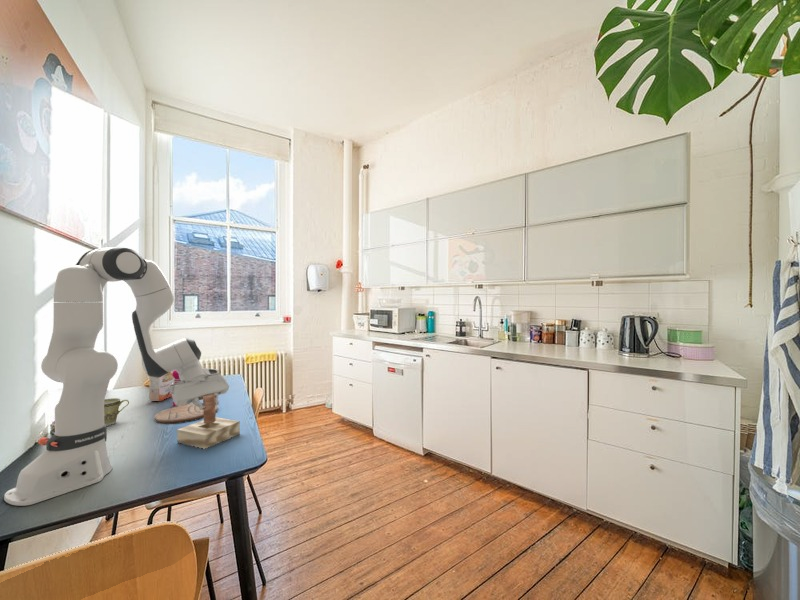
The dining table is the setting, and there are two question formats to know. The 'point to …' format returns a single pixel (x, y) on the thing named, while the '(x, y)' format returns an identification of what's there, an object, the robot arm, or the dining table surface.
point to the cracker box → (160, 387)
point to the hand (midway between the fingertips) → (210, 406)
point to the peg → (209, 408)
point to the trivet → (180, 414)
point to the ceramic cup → (112, 410)
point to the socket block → (208, 432)
